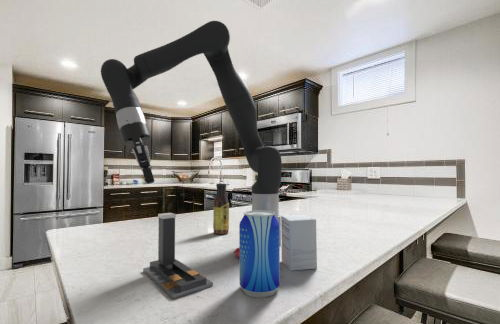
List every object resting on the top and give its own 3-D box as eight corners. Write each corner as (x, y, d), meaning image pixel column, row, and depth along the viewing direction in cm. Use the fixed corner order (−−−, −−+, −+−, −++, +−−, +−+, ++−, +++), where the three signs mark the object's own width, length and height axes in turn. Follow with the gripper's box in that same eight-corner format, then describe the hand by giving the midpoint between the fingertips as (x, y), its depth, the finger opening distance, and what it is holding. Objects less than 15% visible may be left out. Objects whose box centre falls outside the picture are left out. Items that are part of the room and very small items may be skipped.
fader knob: (157, 266, 65) (157, 213, 65) (169, 263, 67) (169, 212, 67) (163, 270, 61) (163, 215, 62) (175, 267, 63) (176, 214, 64)
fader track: (143, 271, 64) (143, 262, 64) (177, 263, 70) (177, 255, 70) (172, 299, 50) (173, 288, 50) (212, 285, 56) (212, 275, 56)
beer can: (238, 281, 58) (238, 210, 58) (275, 280, 58) (275, 209, 59) (240, 300, 49) (240, 216, 50) (283, 298, 50) (283, 215, 51)
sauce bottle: (226, 235, 99) (226, 183, 100) (210, 234, 101) (211, 183, 101) (230, 231, 106) (230, 183, 107) (216, 230, 107) (216, 183, 108)
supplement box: (306, 259, 72) (305, 214, 73) (317, 269, 65) (317, 218, 65) (280, 261, 71) (280, 215, 71) (289, 271, 64) (289, 219, 64)
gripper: (124, 137, 79) (140, 190, 77) (114, 120, 67) (132, 183, 64) (149, 131, 82) (165, 182, 79) (144, 114, 69) (163, 174, 67)
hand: (150, 182), depth 72 cm, fingers closed
